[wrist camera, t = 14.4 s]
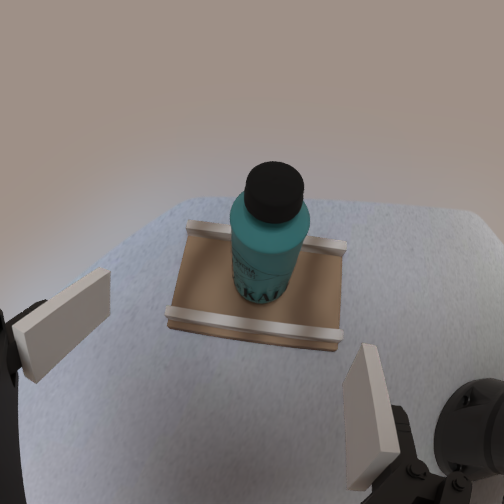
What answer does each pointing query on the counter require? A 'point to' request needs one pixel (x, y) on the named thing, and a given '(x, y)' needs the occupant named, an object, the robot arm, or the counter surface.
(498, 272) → the counter surface
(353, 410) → the robot arm
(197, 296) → the rail board
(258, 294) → the beverage bottle
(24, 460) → the counter surface
